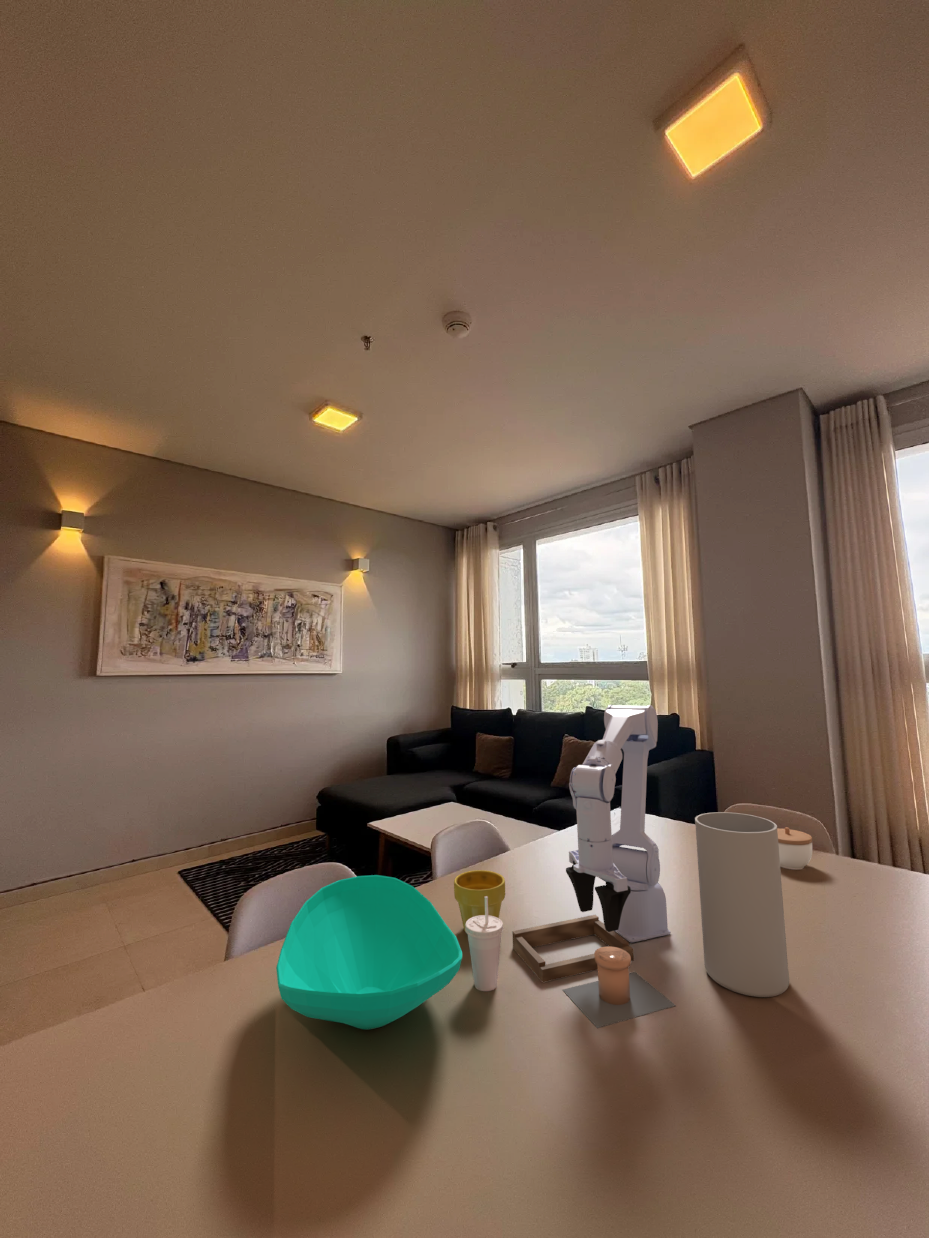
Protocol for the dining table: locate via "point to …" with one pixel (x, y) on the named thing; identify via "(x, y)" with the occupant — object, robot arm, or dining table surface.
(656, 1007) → the potting mat
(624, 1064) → the dining table surface
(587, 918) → the cold frame
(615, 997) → the terracotta pot
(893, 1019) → the dining table surface
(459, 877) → the plant pot
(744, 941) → the cylinder vase
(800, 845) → the lidded jar
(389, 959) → the table top decor
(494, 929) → the smoothie
